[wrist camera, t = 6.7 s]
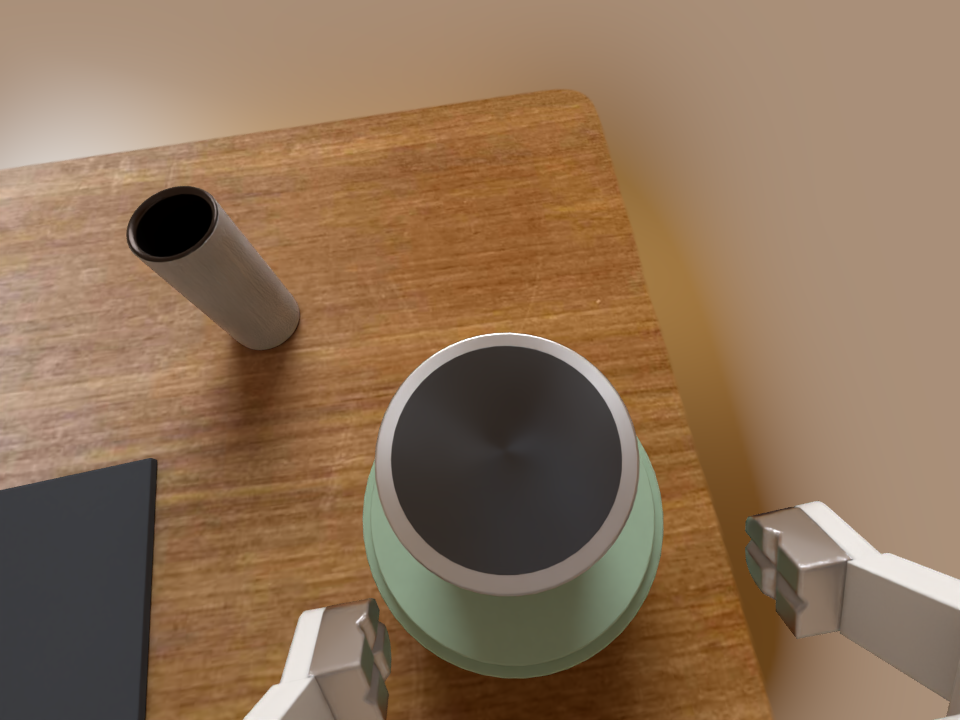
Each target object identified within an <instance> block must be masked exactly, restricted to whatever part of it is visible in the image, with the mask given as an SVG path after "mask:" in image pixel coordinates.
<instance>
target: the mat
mask: <svg viewBox="0 0 960 720" xmlns="http://www.w3.org/2000/svg"><path fill="white" fill-rule="evenodd" d="M156 473H157V460H156V459H153V458H149V459H144V460H139V461H135V462H130V463H125V464H121V465H116V466H111V467H107V468H102V469H97V470H93V471H88V472H84V473H79V474H74V475H70V476H65V477H60V478H56V479H51V480H46V481H42V482H37V483H32V484H28V485H23V486H18V487H14V488H9V489H5V490H0V720H145V709H146V687H147V666H148V645H149V623H150V602H151V580H152V559H153V537H154V516H155V494H156Z"/></svg>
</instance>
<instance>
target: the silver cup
mask: <svg viewBox="0 0 960 720" xmlns="http://www.w3.org/2000/svg"><path fill="white" fill-rule="evenodd" d="M639 465H640V457H639V449H638V441H637V437H636V433H635V429H634V426H633V422H632V420H631V418H630V415H629V413H628V410H627V408H626V406H625V404H624V403H623V401H622V399H621V397H620V395H619V394H618V392H617V391H616V390H615V388H614V387H613V386H612V384H611V383H610V381H609V380H608V379H607V378H606V377H605V376H604V375H603V374H602V373H601V372H600V371H599V370H598V369H597V368H596V367H595V366H594V365H593V364H591V363H590V362H589V361H588V360H586V359H585V358H584V357H582V356H581V355H579V354H578V353H576V352H574V351H573V350H571V349H569V348H567V347H565V346H563V345H561V344H559V343H557V342H554V341H551V340H548V339H545V338H542V337H538V336H533V335H528V334H519V333H492V334H486V335H479V336H475V337H472V338H468V339H464V340H462V341H459V342H457V343H454V344H452V345H449V346H448V347H446V348H444V349H442V350H440V351H439V352H437V353H435V354H434V355H432V356H431V357H430V358H428V359H427V360H425V361H424V362H423V363H422V364H421V365H419V366H418V367H417V368H416V369H415V370H414V371H413V372H412V373H411V374H410V375H409V376H408V377H407V379H406V380H405V381H404V382H403V383H402V385H401V386H400V387H399V389H398V390H397V392H396V393H395V395H394V396H393V398H392V400H391V402H390V404H389V406H388V408H387V410H386V412H385V414H384V417H383V420H382V423H381V426H380V429H379V433H378V438H377V443H376V450H375V479H376V485H377V490H378V495H379V499H380V502H381V505H382V508H383V511H384V514H385V516H386V518H387V520H388V522H389V524H390V526H391V528H392V530H393V532H394V533H395V535H396V536H397V538H398V539H399V541H400V542H401V544H402V545H403V546H404V547H405V548H406V550H407V551H408V552H409V553H410V554H411V555H412V556H413V557H414V559H416V560H417V561H418V562H419V563H420V564H422V565H423V566H424V567H425V568H426V569H427V570H429V571H430V572H432V573H433V574H435V575H436V576H438V577H440V578H441V579H443V580H444V581H446V582H449V583H451V584H453V585H455V586H458V587H460V588H462V589H466V590H469V591H472V592H476V593H479V594H486V595H493V596H523V595H530V594H537V593H540V592H543V591H547V590H550V589H553V588H556V587H558V586H560V585H563V584H565V583H567V582H569V581H571V580H573V579H575V578H576V577H578V576H579V575H581V574H582V573H584V572H585V571H587V570H588V569H589V568H591V567H592V566H593V565H594V564H595V563H596V562H597V561H599V560H600V559H601V558H602V557H603V556H604V555H605V553H606V552H607V551H608V550H609V549H610V548H611V546H612V545H613V544H614V543H615V541H616V540H617V538H618V536H619V535H620V533H621V532H622V530H623V528H624V527H625V525H626V522H627V520H628V518H629V516H630V513H631V511H632V508H633V505H634V501H635V498H636V494H637V489H638V482H639Z"/></svg>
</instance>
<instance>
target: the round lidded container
mask: <svg viewBox="0 0 960 720" xmlns="http://www.w3.org/2000/svg"><path fill="white" fill-rule="evenodd" d="M636 437H637V436H636ZM637 441H638V449H639V457H640V465H639V482H638V489H637V494H636V498H635V501H634V505H633V508H632V511H631V513H630V516H629V518H628V520H627V522H626V525H625V527H624V528H623V530H622V532H621V533H620V535H619V536H618V538H617V540H616V541H615V543H614V544H613V545H612V546H611V548H610V549H609V550H608V551H607V552H606V553H605V555H604V556H603V557H602V558H601V559H600V560H599V561H597V562H596V563H595V564H594V565H593V566H592V567H591V568H589V569H588V570H587V571H585V572H584V573H582V574H581V575H579V576H578V577H576V578H575V579H573V580H571V581H569V582H567V583H565V584H563V585H560V586H558V587H556V588H553V589H550V590H547V591H543V592H540V593H537V594H530V595H523V596H493V595H486V594H479V593H476V592H472V591H469V590H466V589H462V588H460V587H458V586H455V585H453V584H451V583H449V582H446V581H444V580H443V579H441V578H440V577H438V576H436V575H435V574H433V573H432V572H430V571H429V570H427V569H426V568H425V567H424V566H423V565H422V564H420V563H419V562H418V561H417V560H416V559H414V557H413V556H412V555H411V554H410V553H409V552H408V551H407V550H406V548H405V547H404V546H403V545H402V544H401V542H400V541H399V539H398V538H397V536H396V535H395V533H394V532H393V530H392V528H391V526H390V524H389V522H388V520H387V518H386V516H385V514H384V511H383V508H382V505H381V502H380V499H379V495H378V490H377V485H376V479H375V460H374V463H373V466H372V469H371V472H370V475H369V478H368V482H367V487H366V492H365V497H364V507H363V535H364V543H365V549H366V554H367V559H368V562H369V566H370V569H371V572H372V575H373V578H374V581H375V583H376V585H377V587H378V589H379V592H380V594H381V596H382V598H383V599H384V601H385V603H386V604H387V606H388V607H389V609H390V611H391V612H392V614H393V615H394V616H395V618H396V619H397V620H398V621H399V622H400V624H401V625H402V626H403V627H404V628H405V630H406V631H407V632H408V633H409V634H410V635H411V636H412V637H414V638H415V639H416V640H417V641H418V642H419V643H420V644H421V645H422V646H424V647H425V648H426V649H428V650H429V651H431V652H432V653H434V654H435V655H437V656H438V657H440V658H441V659H443V660H445V661H447V662H449V663H451V664H453V665H456V666H458V667H460V668H462V669H465V670H468V671H472V672H475V673H478V674H481V675H486V676H493V677H499V678H532V677H539V676H545V675H550V674H553V673H556V672H559V671H563V670H566V669H569V668H571V667H573V666H575V665H577V664H579V663H581V662H583V661H586V660H588V659H589V658H591V657H592V656H594V655H595V654H597V653H598V652H599V651H601V650H602V649H604V648H605V647H607V646H608V645H609V644H610V643H611V642H612V641H613V640H614V639H615V638H616V637H617V636H618V635H620V634H621V633H622V632H623V630H624V629H625V628H626V627H627V625H628V624H629V623H630V622H631V620H632V619H633V618H634V617H635V615H636V614H637V612H638V611H639V609H640V607H641V606H642V604H643V602H644V600H645V599H646V597H647V595H648V593H649V590H650V588H651V585H652V583H653V581H654V578H655V575H656V572H657V568H658V564H659V560H660V556H661V549H662V541H663V509H662V502H661V495H660V490H659V487H658V483H657V479H656V475H655V472H654V470H653V467H652V465H651V463H650V460H649V458H648V455H647V453H646V452H645V450H644V448H643V446H642V444H641V443H640V441H639V439H638V437H637Z"/></svg>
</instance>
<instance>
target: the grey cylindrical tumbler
mask: <svg viewBox="0 0 960 720" xmlns="http://www.w3.org/2000/svg"><path fill="white" fill-rule="evenodd" d="M126 236H127V243H128V245H129V248H130V249H131V251H132V252H133V253H134V254H135V255H136V256H137V257H138V258H139V259H140V260H141V261H143V262H144V263H145V264H146V265H147V266H149V267H150V268H151V269H152V270H153V271H155V272H156V273H157V274H158V275H159V276H160V277H162V278H163V279H164V280H165V281H166V282H168V283H169V284H170V285H171V286H172V287H174V288H175V289H176V290H177V291H178V292H179V293H181V294H182V295H183V296H184V297H185V298H187V299H188V300H189V301H190V302H191V303H193V304H194V305H195V306H196V307H197V308H199V309H200V310H201V311H202V312H203V313H204V314H206V315H207V316H208V317H209V318H210V319H212V320H213V321H214V322H215V323H216V324H218V325H219V326H220V327H221V328H222V329H224V330H225V331H226V332H227V333H228V334H229V335H231V336H232V337H233V338H234V339H235V340H237V341H238V342H239V343H241V344H242V345H244V346H245V347H247V348H250V349H254V350H266V349H270V348H273V347H276V346H278V345H280V344H281V343H283V342H284V341H286V340H287V339H288V338H289V337H290V336H291V335H292V333H293V332H294V331H295V329H296V327H297V325H298V322H299V316H300V312H299V307H298V304H297V302H296V301H295V299H294V298H293V296H292V295H291V293H290V292H289V291H288V290H287V288H286V287H285V286H284V285H283V284H282V282H281V281H280V280H279V279H278V277H277V276H276V275H275V274H274V272H273V271H272V270H271V269H270V267H269V266H268V265H267V264H266V262H265V261H264V260H263V259H262V257H261V256H260V255H259V254H258V252H257V251H256V250H255V249H254V247H253V246H252V245H251V244H250V242H249V241H248V240H247V239H246V237H245V236H244V235H243V234H242V232H241V231H240V230H239V229H238V227H237V226H236V225H235V224H234V222H233V221H232V220H231V219H230V217H229V216H228V215H227V214H226V212H225V211H224V210H223V209H222V207H221V206H220V205H219V204H218V202H217V201H216V200H215V199H214V198H213V196H212V195H210V194H209V193H208V192H206V191H204V190H202V189H200V188H196V187H191V186H178V187H172V188H169V189H165V190H163V191H160V192H158V193H156V194H154V195H153V196H151V197H150V198H148V199H147V200H146V201H144V202H143V203H142V204H141V205H140V206H139V207H138V208H137V209H136V211H135V212H134V213H133V215H132V217H131V219H130V221H129V223H128V227H127V233H126Z"/></svg>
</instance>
